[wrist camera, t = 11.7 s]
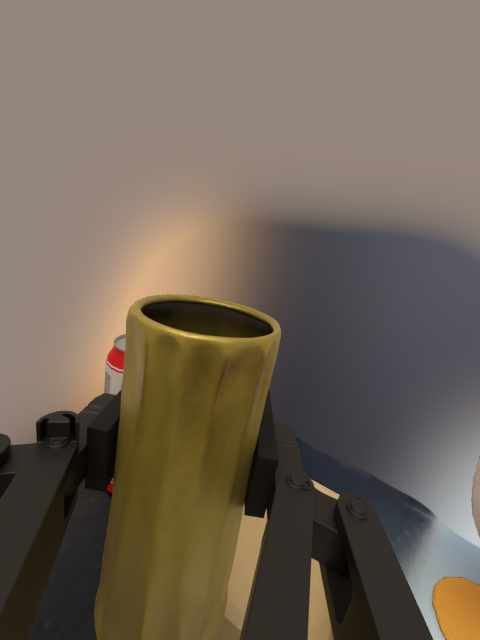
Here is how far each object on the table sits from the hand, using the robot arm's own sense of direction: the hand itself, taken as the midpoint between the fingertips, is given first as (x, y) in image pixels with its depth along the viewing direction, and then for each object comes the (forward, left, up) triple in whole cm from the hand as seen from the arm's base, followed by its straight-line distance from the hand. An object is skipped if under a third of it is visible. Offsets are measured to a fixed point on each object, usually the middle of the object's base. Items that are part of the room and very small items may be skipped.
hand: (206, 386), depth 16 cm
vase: (+2, -5, -9) cm, 10 cm away
